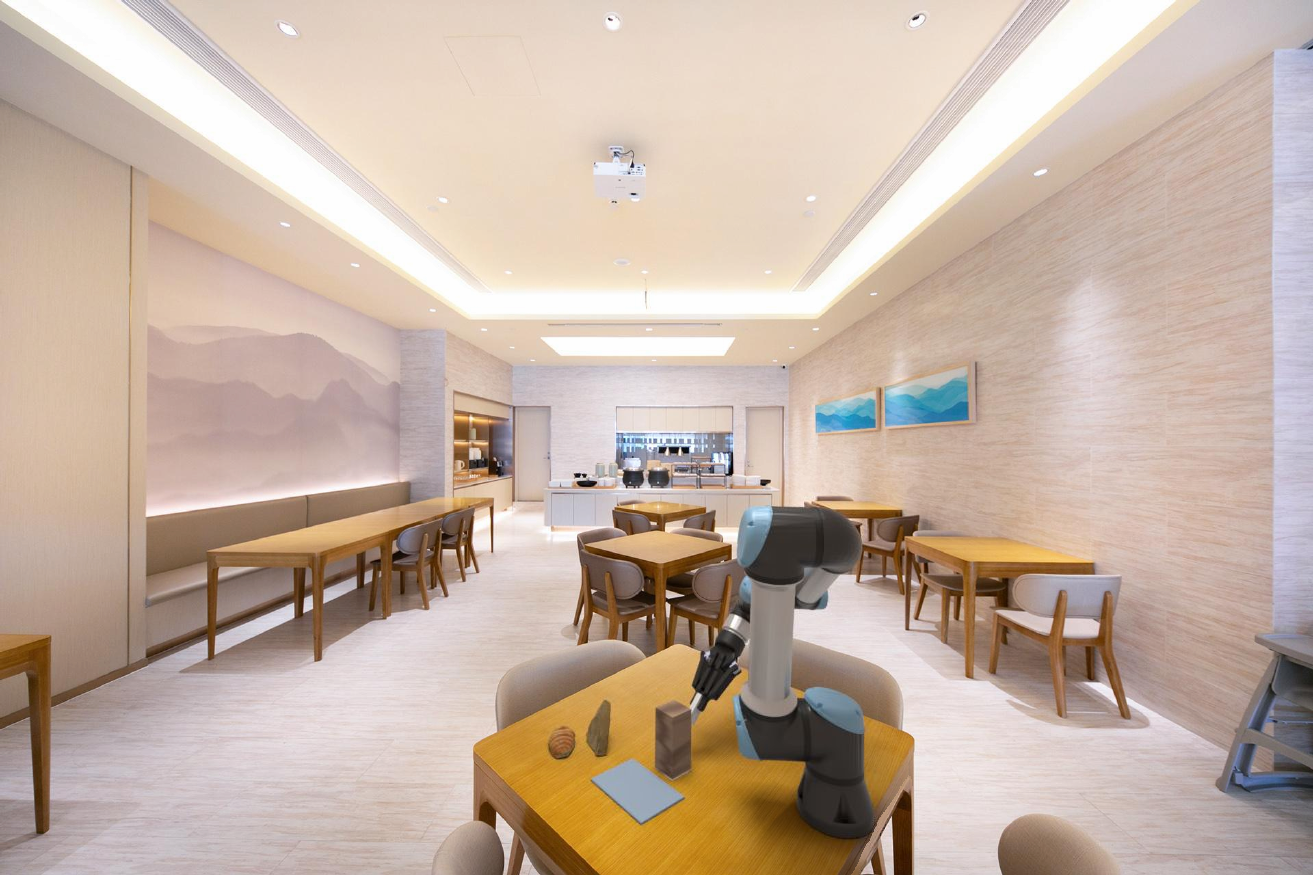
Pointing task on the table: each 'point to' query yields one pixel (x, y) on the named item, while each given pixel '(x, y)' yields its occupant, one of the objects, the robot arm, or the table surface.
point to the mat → (637, 790)
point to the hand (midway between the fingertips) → (689, 721)
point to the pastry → (562, 741)
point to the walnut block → (673, 739)
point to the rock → (600, 729)
